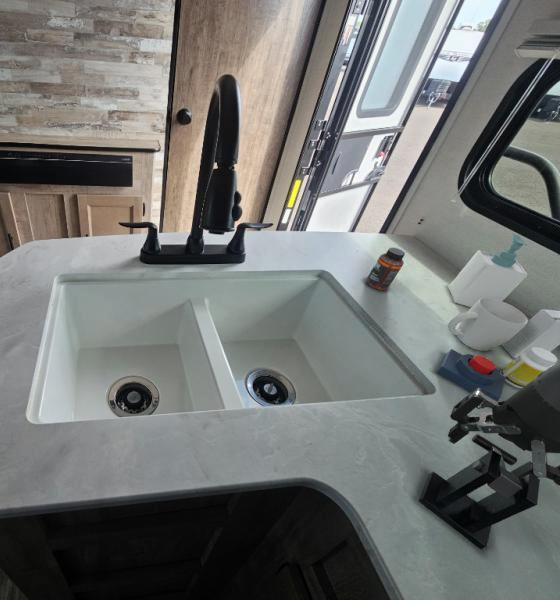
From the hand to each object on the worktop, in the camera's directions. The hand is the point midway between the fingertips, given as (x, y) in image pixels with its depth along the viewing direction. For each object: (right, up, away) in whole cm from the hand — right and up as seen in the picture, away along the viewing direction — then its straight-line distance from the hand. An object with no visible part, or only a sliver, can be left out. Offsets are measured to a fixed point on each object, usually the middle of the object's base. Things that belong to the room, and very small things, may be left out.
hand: (481, 458), depth 52 cm
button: (+15, +11, +16) cm, 24 cm away
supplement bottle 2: (+25, +8, +19) cm, 32 cm away
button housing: (+14, +8, +18) cm, 25 cm away
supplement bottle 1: (+12, +29, +43) cm, 53 cm away
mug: (+23, +15, +27) cm, 39 cm away
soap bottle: (+37, +25, +41) cm, 61 cm away
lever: (-4, +1, -5) cm, 6 cm away
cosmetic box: (+34, +12, +26) cm, 44 cm away
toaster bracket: (-7, -6, -3) cm, 10 cm away
